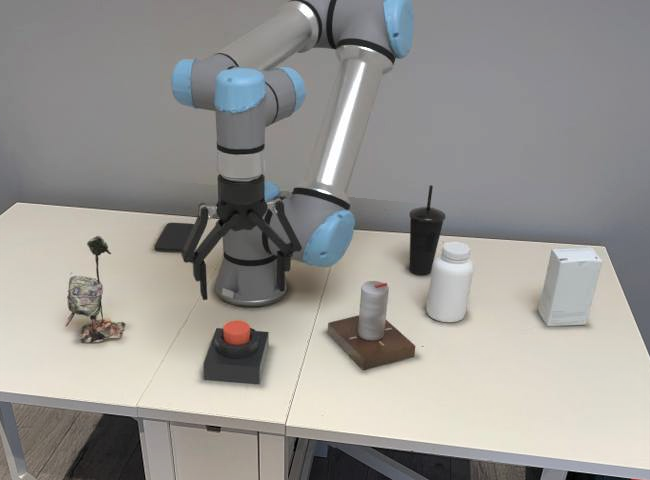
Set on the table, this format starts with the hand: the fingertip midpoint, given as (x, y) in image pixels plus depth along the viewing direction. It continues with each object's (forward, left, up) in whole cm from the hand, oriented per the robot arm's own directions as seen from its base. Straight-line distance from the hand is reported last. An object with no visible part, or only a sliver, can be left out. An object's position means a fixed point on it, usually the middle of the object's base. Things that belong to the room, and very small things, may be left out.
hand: (242, 292), depth 133 cm
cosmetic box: (-2, +66, -15) cm, 68 cm away
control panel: (-1, +25, -15) cm, 29 cm away
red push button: (0, -1, -9) cm, 10 cm away
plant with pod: (-16, -26, -15) cm, 34 cm away
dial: (-1, +25, -12) cm, 28 cm away
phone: (-56, -6, -15) cm, 58 cm away
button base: (0, -1, -15) cm, 15 cm away
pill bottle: (-9, +44, -15) cm, 47 cm away
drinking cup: (-28, +46, -15) cm, 56 cm away
